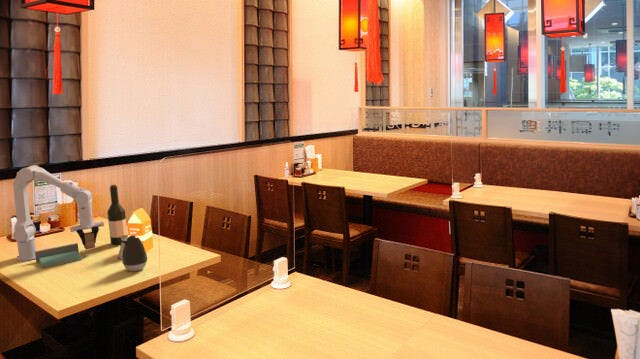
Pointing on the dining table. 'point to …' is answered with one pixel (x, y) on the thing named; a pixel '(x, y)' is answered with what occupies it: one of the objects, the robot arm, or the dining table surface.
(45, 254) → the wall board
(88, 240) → the walnut block
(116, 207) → the wine bottle
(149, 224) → the orange juice
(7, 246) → the dining table surface
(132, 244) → the black egg shape
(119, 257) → the flask
